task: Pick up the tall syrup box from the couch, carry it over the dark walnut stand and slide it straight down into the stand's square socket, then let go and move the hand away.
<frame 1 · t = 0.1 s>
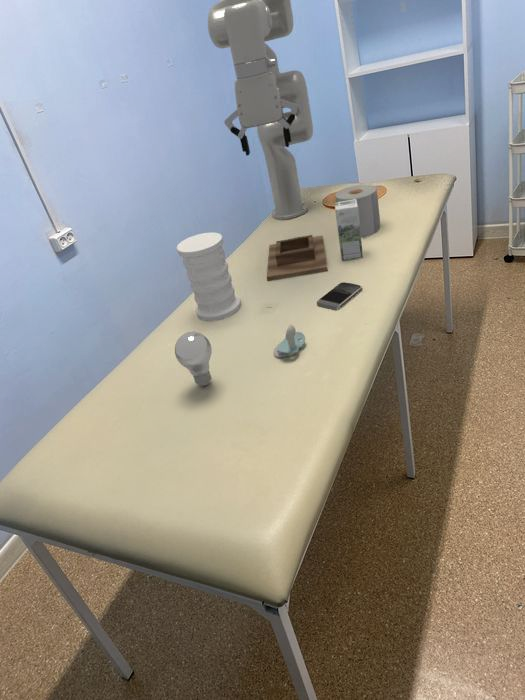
hand: (267, 150, 119), 31 cm above the table, tool pointing down, fingers open, 9 cm apart
stand: (296, 259, 140), on the table
pacifier: (289, 351, 103), on the table
decorative container: (219, 309, 125), on the table
syrup box: (351, 256, 134), on the table
toilet paper roll: (359, 230, 148), on the table
cell phone: (340, 299, 117), on the table
light bulb: (205, 385, 99), on the table
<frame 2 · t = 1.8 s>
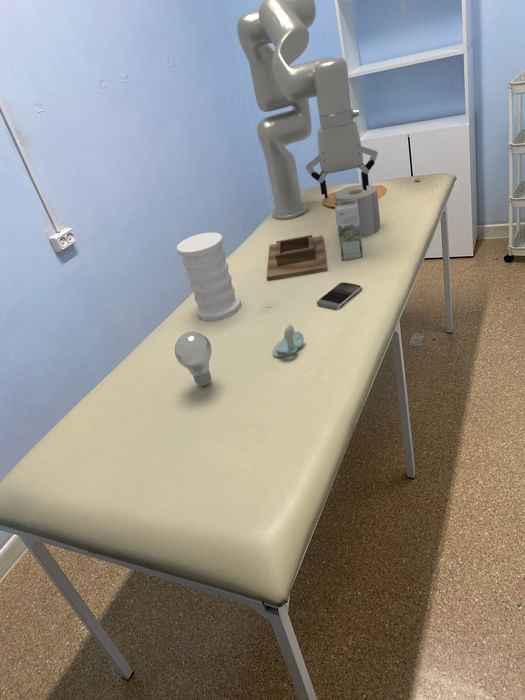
hand: (345, 193, 124), 17 cm above the table, tool pointing down, fingers open, 9 cm apart
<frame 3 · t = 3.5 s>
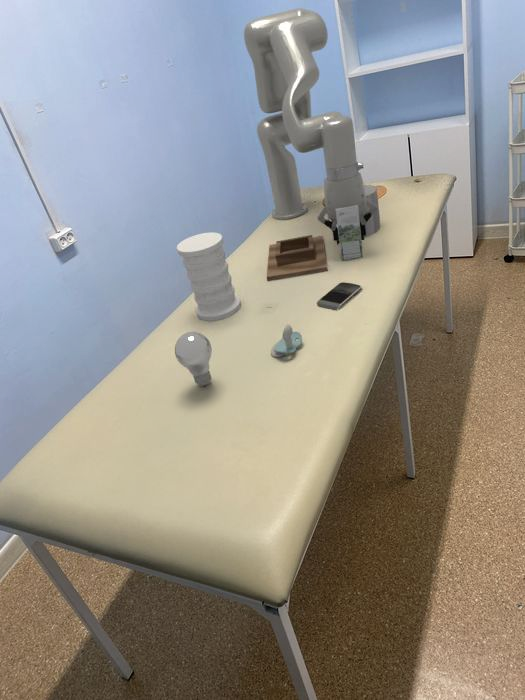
hand: (349, 239, 132), 5 cm above the table, tool pointing down, fingers closed on syrup box, 5 cm apart
syrup box: (351, 256, 134), on the table, touching gripper
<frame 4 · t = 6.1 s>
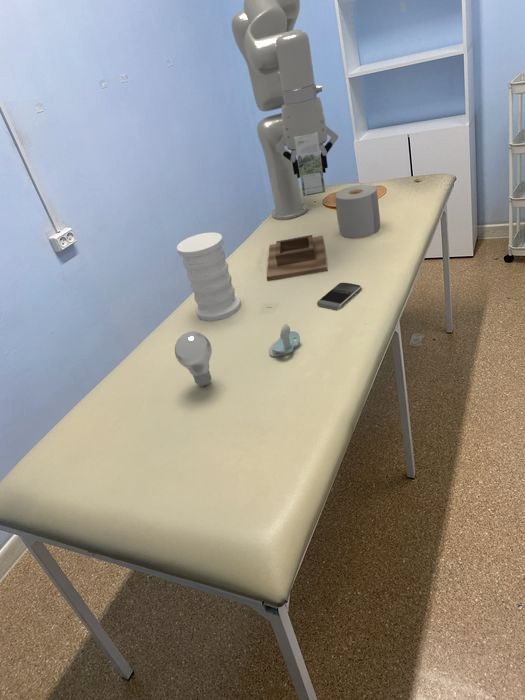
hand: (311, 173, 125), 23 cm above the table, tool pointing down, fingers closed on syrup box, 5 cm apart
syrup box: (314, 192, 127), point 18 cm above the table, touching gripper
when the fingers open (6 cm above the table, at t = 9.1 s): syrup box stays where it is, resting on stand.
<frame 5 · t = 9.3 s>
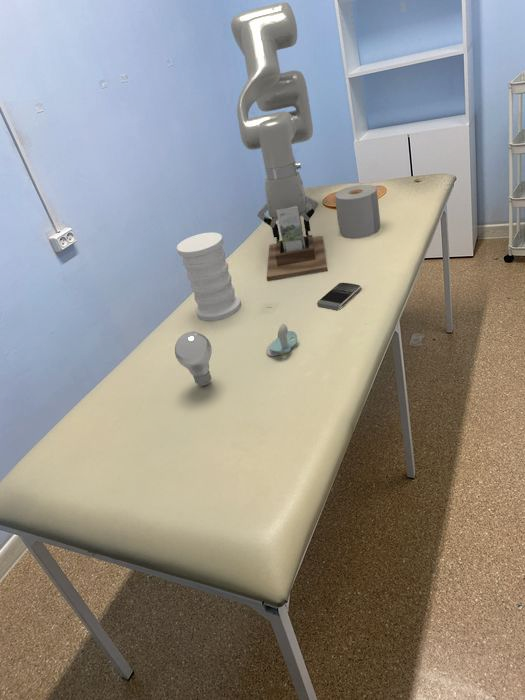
hand: (292, 236, 136), 7 cm above the table, tool pointing down, fingers open, 7 cm apart
syrup box: (296, 255, 139), point 1 cm above the table, touching stand
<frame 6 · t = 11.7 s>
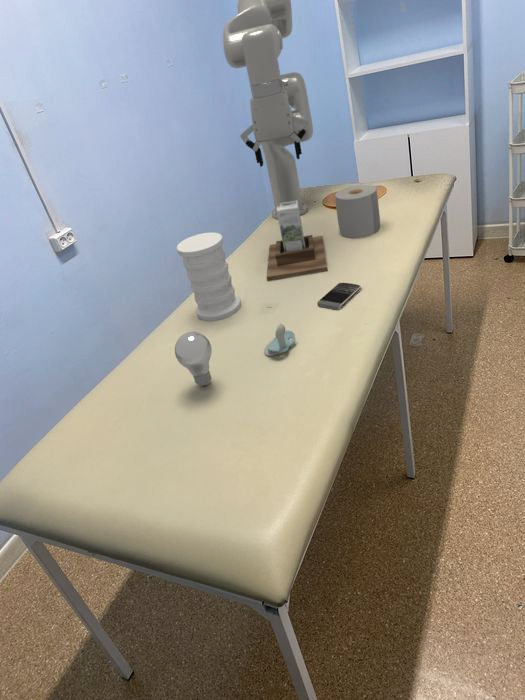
hand: (279, 161, 129), 26 cm above the table, tool pointing down, fingers open, 9 cm apart
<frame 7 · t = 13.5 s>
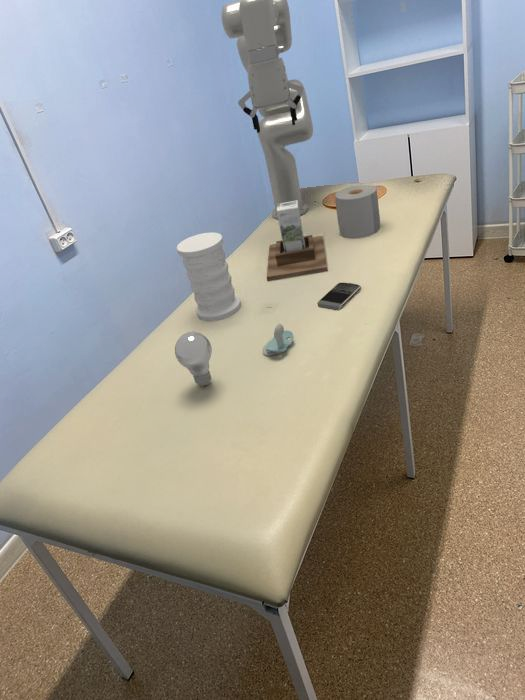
hand: (276, 128, 134), 32 cm above the table, tool pointing down, fingers open, 9 cm apart
at the end: syrup box 0.2 cm off-centre on the stand, point 1.0 cm above the stand's base; syrup box tilted 0°; the gripper is holding nothing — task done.
